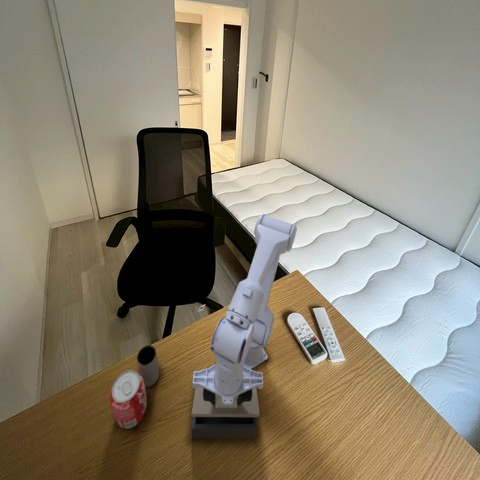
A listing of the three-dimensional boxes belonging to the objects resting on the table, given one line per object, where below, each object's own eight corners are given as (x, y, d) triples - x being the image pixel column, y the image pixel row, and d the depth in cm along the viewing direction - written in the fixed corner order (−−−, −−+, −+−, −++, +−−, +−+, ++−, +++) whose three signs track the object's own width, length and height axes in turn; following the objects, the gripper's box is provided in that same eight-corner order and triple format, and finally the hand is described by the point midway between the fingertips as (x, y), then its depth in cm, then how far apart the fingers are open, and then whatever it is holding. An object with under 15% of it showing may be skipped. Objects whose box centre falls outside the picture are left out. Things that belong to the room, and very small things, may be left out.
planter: (137, 376, 65) (133, 354, 61) (153, 362, 68) (150, 340, 64) (146, 391, 62) (142, 370, 58) (162, 376, 65) (159, 354, 61)
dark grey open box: (255, 439, 56) (257, 429, 54) (191, 438, 55) (191, 428, 53) (252, 384, 65) (254, 373, 63) (197, 383, 65) (197, 372, 62)
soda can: (140, 384, 64) (135, 359, 58) (153, 411, 59) (148, 386, 54) (111, 409, 59) (103, 384, 54) (123, 440, 54) (115, 416, 49)
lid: (259, 417, 52) (260, 396, 52) (191, 417, 52) (192, 395, 52) (254, 374, 63) (255, 356, 63) (197, 373, 62) (198, 355, 62)
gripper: (189, 391, 45) (190, 424, 50) (267, 392, 45) (259, 424, 51) (195, 348, 51) (195, 381, 57) (263, 349, 52) (257, 382, 57)
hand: (226, 399), depth 54 cm, fingers closed on lid, 5 cm apart
